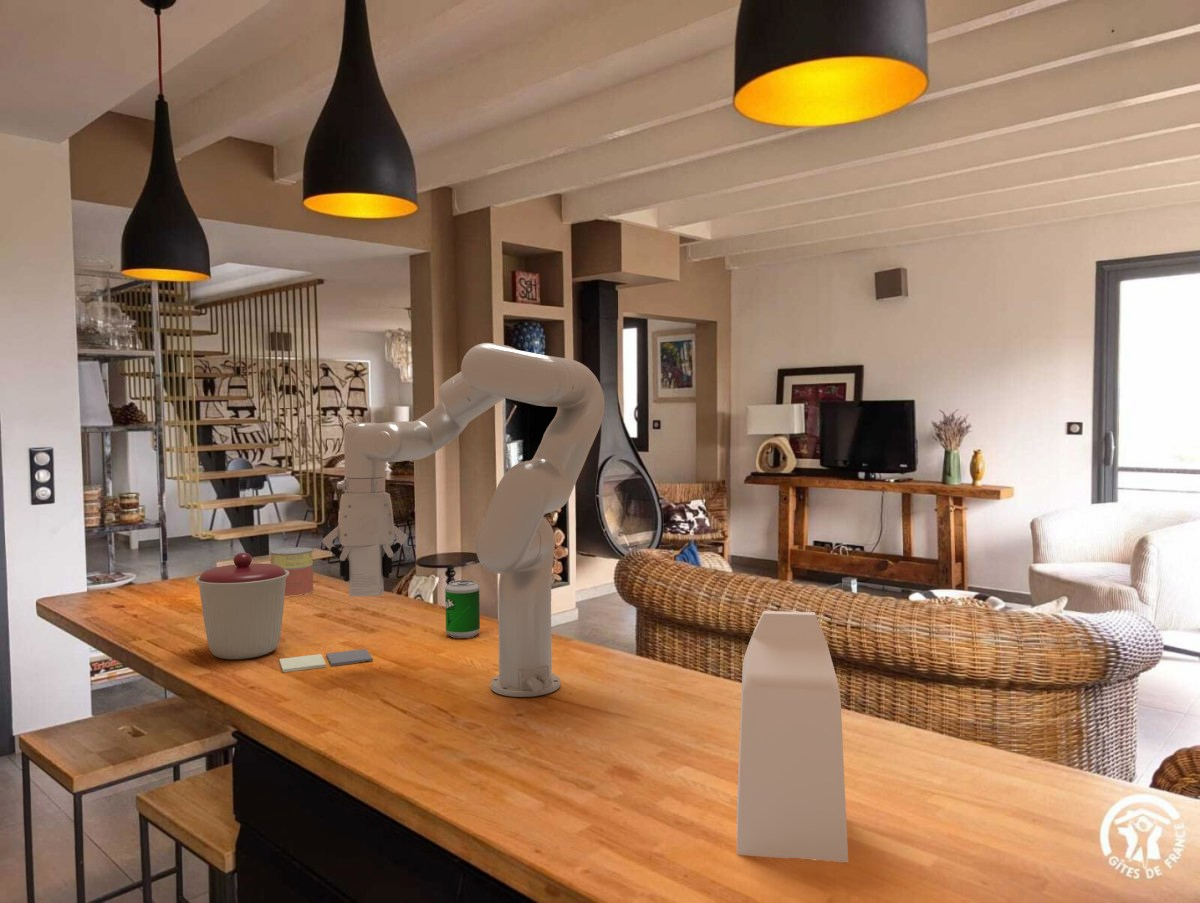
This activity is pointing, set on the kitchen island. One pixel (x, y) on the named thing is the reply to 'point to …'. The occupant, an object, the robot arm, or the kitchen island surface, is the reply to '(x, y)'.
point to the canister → (243, 607)
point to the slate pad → (348, 657)
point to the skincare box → (366, 570)
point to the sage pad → (302, 663)
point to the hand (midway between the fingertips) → (366, 577)
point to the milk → (790, 744)
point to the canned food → (295, 568)
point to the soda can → (462, 609)
